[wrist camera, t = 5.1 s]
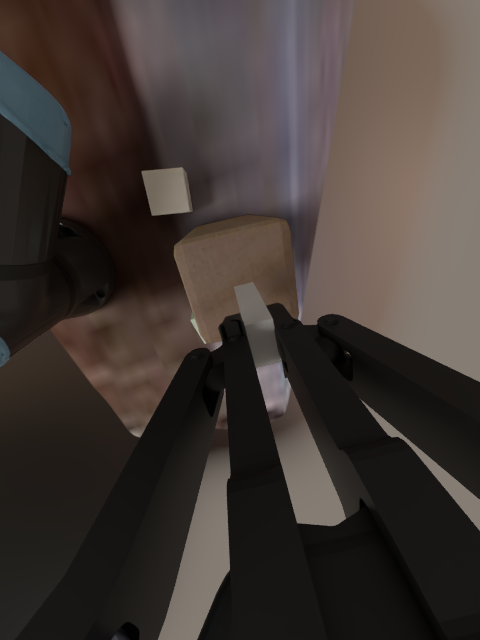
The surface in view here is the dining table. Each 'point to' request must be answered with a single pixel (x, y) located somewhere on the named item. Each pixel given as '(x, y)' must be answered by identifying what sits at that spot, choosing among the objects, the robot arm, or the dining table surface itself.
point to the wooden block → (236, 267)
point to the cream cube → (167, 191)
